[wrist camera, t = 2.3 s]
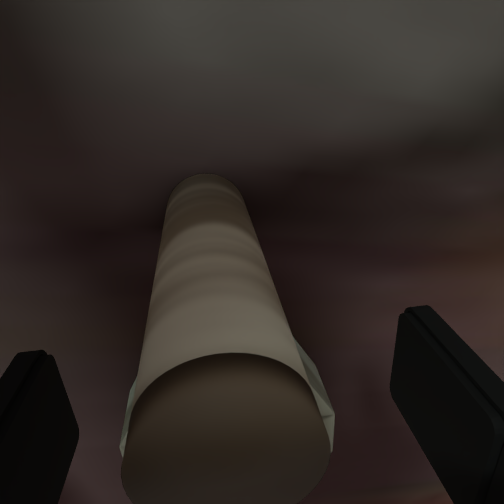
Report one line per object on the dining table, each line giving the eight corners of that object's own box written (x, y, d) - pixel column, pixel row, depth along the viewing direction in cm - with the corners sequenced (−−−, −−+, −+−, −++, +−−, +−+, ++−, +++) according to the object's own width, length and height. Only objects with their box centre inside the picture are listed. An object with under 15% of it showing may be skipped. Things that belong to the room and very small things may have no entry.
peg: (160, 177, 19) (98, 411, 6) (242, 170, 19) (335, 377, 7) (172, 250, 21) (142, 545, 8) (247, 243, 21) (327, 511, 9)
